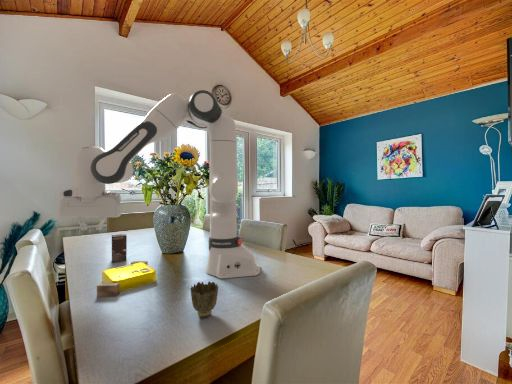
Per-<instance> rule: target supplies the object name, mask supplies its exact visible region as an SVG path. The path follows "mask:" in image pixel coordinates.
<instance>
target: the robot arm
mask: <svg viewBox="0 0 512 384" xmlns="http://www.w3.org/2000/svg"><path fill="white" fill-rule="evenodd" d="M222 113H223V110H222V108H221V106H220V104H219V102H218V100H217V99H216V97H215V95H214V94H213V93H212V92H211V91H208V90H204V89H200V90H197V91H195V92H193V94H192V95H191V96H190V97H189V99H186V98H185V97H184V96H182V95H181V94H179V93H170V94H168V95H167V96H166V97H164V98H162V100H160V101H159V102H158V103H156V105H155V106H154V107H153V108H152V109H151V110H150V111H149V112H148V113H147V115H145V116H144V118H143V119H142V120H141V121H140V122H139V124H137V125H136V127H134V128H133V129H132V130H131V131H130V132H129V133H127V134H126V136H125V137H123V139H121V140H120V142H118V143H117V144H116V145H115V146H114V147H113V148H111V149H110V150H108V151H106V150H105V149H103V148H102V147H101V146H86V147H82V148H80V149H78V150H77V152H76V156H75V173H76V181H75V186H74V187H72V188H68V189H67V188H66V189H65V190H62V191H61V192H60V196H61V199H60V201H59V208H58V211H59V216H60V217H61V218H64V219H65V218H69V219H71V218H73V219H74V218H76V222H77V223H78V224H79V227H80V230H81V231H87V230H88V229H89V227H88V225H89V224H86V223H85V218H98V221H99V222H98V224H95V230H96V231H101V230H103V225H104V224H105V221H106V220H107V218H119V217H120V216H121V215H122V212H123V211H122V205H121V200H122V199H121V195H120V194H119V193H118V192H117V191H111V192H110V191H106V185H112V184H122V183H125V182H128V181H129V180H131V179H132V177H133V175H134V171H135V170H134V166H133V164H132V163H131V161H132V160H133V159H134V158H135V157H136V155H138V154H139V153H140V152H141V151H142V150H143V149H144V148H145V147H147V146H149V145H150V144H152V143H155V142H162V141H165V140H166V139H168V138H170V136H172V135H173V134H174V133H175V132H176V131H177V129H178V128H179V127H181V125H182V124H183V123H185V122H186V123H188V124H191V125H193V126H194V127H196V128H199V129H208V132H209V175H208V176H209V181H208V182H209V185H208V186H209V188H208V192H209V198H210V199H209V201H210V202H209V204H210V205H209V237H208V251H209V254H208V261H207V266H206V269H205V272H206V273H207V274H208V275H210V276H214V277H216V278H218V279H230V278H231V279H232V278H244V277H253V276H254V277H255V276H258V275H260V273H261V265H260V264H259V263H257V262H256V259H255V256H254V254H253V252H252V251H250V250H249V249H247V248H246V247H245V246H244V245H243V239H242V237H241V236H239V235H238V234H237V233H238V228H237V227H238V222H237V219H238V217H237V196H238V192H239V186H238V185H239V184H238V181H239V179H238V157H237V156H238V152H237V151H238V138H237V137H238V136H237V128H236V122H235V119H233V117H231V116H229V115H227V114H222Z"/></svg>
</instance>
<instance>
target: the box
mask: <svg viewBox="0 0 512 384" xmlns="http://www.w3.org/2000/svg"><path fill="white" fill-rule="evenodd" d="M127 237H128V236H127V233H120V234H119V233H118V234H112V235H111V262H112V263H117V262H124V261H125V262H126V261H127V251H128V250H127Z"/></svg>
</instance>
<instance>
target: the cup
mask: <svg viewBox="0 0 512 384" xmlns="http://www.w3.org/2000/svg"><path fill="white" fill-rule="evenodd" d="M189 288H190V297H191V303H192V308H193V309H194V310H195V311H196V312H197V315H198V317H199V318H202V319H205V318H209V317H210V316H211V315H212V310H214V308H215V307H216V304H217V301H218V294H219V286H218V284H217V283H215V282H214V281H212V282H211V281H208V282H207V283H204V281H202V282H200V281H198V282H197V283H193V286H192V285H191V287H189Z"/></svg>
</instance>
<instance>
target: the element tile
mask: <svg viewBox="0 0 512 384" xmlns="http://www.w3.org/2000/svg"><path fill="white" fill-rule="evenodd" d="M101 274H102V275H101V276H102V277H101V280H102V281H101V283H119V288H120V292H123V291H127V290H131V289H134V288H138V287H142V286H145V285H149V284H152V283H155V282H156V281H157V271H156V269H155V268H153V267H152V266H149V264H148V265H147V264H145V263H142V262H140V263H135V264H131V263H130V264H126V265H123V266H122V265H121V266H118V267H112V268H107V269H103V271H102V272H101Z"/></svg>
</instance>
